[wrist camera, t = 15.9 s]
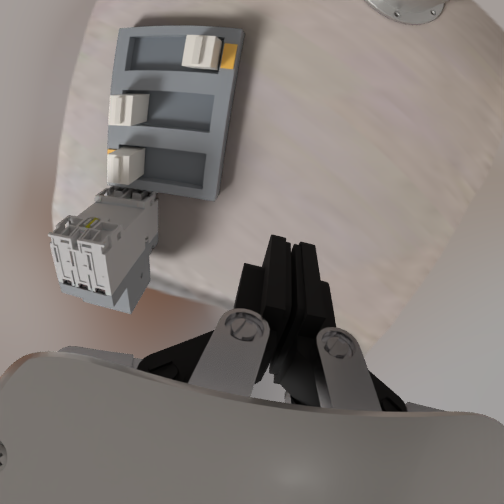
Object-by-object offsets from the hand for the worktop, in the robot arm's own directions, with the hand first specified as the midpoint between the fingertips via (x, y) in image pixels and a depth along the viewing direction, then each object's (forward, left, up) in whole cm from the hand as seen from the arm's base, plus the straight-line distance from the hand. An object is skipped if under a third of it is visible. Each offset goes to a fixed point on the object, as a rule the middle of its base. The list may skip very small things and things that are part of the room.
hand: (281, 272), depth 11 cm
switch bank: (-3, -14, -27) cm, 30 cm away
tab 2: (+4, -18, -25) cm, 31 cm away
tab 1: (-3, -18, -25) cm, 31 cm away
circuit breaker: (+16, -19, -27) cm, 36 cm away
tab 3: (-10, -10, -25) cm, 29 cm away
